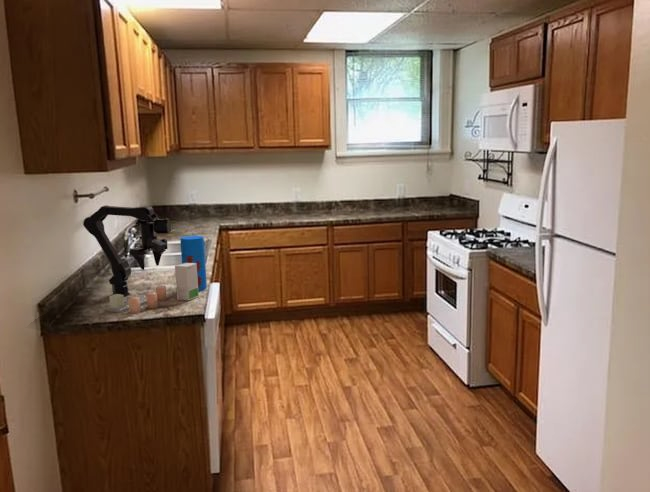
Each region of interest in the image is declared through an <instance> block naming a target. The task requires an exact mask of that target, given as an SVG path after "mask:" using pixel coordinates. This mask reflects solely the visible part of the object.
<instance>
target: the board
mask: <svg viewBox="0 0 650 492" xmlns="http://www.w3.org/2000/svg"><path fill="white" fill-rule="evenodd" d="M139 297H140V307H141V306H143V305H147V300H146V297H143V296H139ZM124 305H125V306H124V307H121V308H118V309H116V308H110V306H108V307H104V311H106V312H111V313H119V314H122V313H124V312H128V311H129V301H128V299H127V300H124Z"/></svg>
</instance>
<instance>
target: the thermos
mask: <svg viewBox="0 0 650 492" xmlns="http://www.w3.org/2000/svg"><path fill="white" fill-rule="evenodd" d="M179 241H180V254H181V264H183V263H197V278H198V292H200V291H205V290H206V289H207V285H208V284H207V265H206V252H205V249H206V248H205V238H204V236H202V235H187V236H182V237H180V240H179Z"/></svg>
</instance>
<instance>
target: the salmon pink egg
mask: <svg viewBox="0 0 650 492" xmlns="http://www.w3.org/2000/svg"><path fill="white" fill-rule="evenodd" d="M145 298H146V300H147V303H146V307H147V308H146V309H151V310H152V309H157V308H158V306H159V304H158V302H159V301H157V293H156V291H151V292H147V293H145Z"/></svg>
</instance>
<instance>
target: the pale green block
mask: <svg viewBox="0 0 650 492" xmlns="http://www.w3.org/2000/svg"><path fill="white" fill-rule="evenodd" d="M124 301H125V296H124V295H121V294H115V295H112V296H109V307H110V308H116V309H118V308H121V307H124V306H125V305H124Z"/></svg>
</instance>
